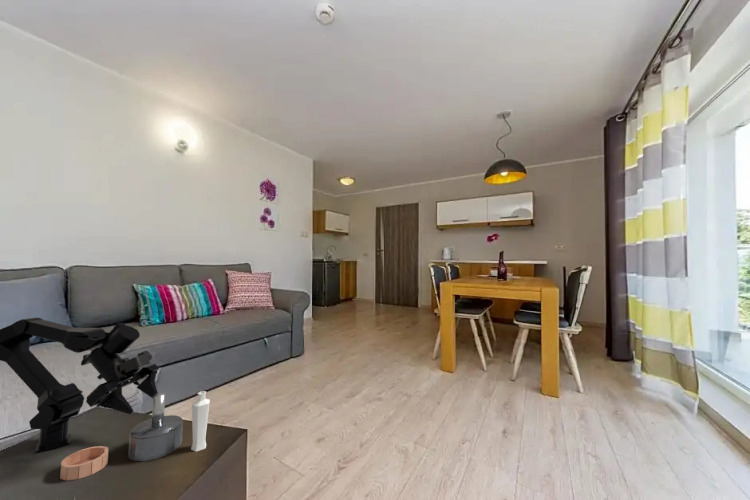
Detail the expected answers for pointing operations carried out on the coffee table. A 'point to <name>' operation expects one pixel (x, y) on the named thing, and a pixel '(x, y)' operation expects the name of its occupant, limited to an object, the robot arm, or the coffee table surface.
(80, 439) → the coffee table surface
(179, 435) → the grey stemmed oval block
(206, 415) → the perfume bottle
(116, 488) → the coffee table surface
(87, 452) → the terracotta bowl
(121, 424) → the coffee table surface
